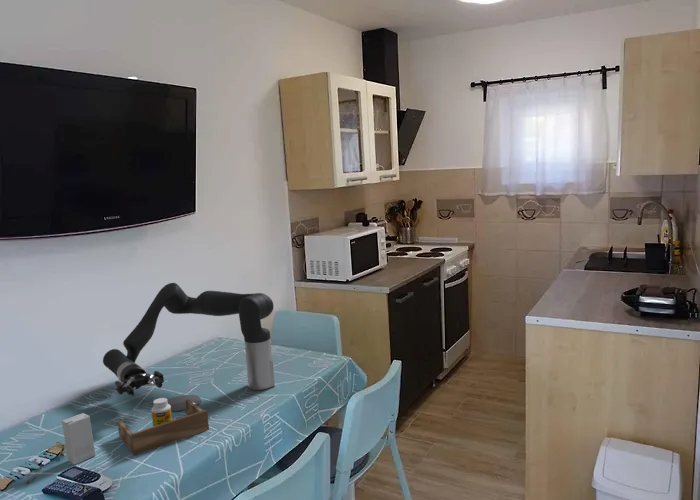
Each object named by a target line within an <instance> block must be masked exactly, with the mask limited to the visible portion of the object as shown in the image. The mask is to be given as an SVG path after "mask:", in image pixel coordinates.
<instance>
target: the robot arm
mask: <svg viewBox="0 0 700 500" xmlns="http://www.w3.org/2000/svg"><path fill="white" fill-rule="evenodd" d="M274 305H275V304H274V302H273V300H272V299H271V297H270V296H268V295H267V294H266V293H263V292H262V293H261V292H256V293H237V292H229V291H228V292H227V291H220V290H219V291H218V290H204V291H203V292H201V293H199V295H197V296H196V297H191V296H189V295H187V294H186V292H184V290H183V289H182V287H180V285H179V284H178V283H176V282H168V283H167V284H166V285H164V286H163V287H162V288H161V289H160V290H159V291H158V293H157V294H156V296H155V297H154V298H153V300H152V302H151V303H150V305H149V306H148V308H147V309H146V311H145V313H144V314H143V316H142V317H141V319H140V320H139V322H138V323H137V325H136V326H135V327H134V329H132V331H131V332H130V333H129V334H128V335H127V336H126V337H125V339H124V340H123V343H122V345H123V346H124V348H125V349H126V352H127V354H124V352H122V351H121V349H117V348H112V349H110V350H108V351H107V352H106V353H105V354H104V356H103V357H102V363H103V365H104V366H105V367H106V368H107V369H108V370H110V371H111V372H112V373H113V374H114V375H115V376H116V378H118V380H119V381H118V380H116V381H114V385H115V390H116V392H117V393H118V395H123V394H124V393H125V394H128V395H131V396H132V397H133V396H135V390H138V389H140V388H141V387H152V386H156V387H157V388H158V389H161V388H162V387H163V383H165V379H164V374H162V373H161V372H160V371H158V370H155V371H153V374H149V373H147V371H145V369H143V368H142V366H140V365H139V364H138V363H136V361H137V359H138V356H139V355H140V353H141V351H142V350H143V349H144V347H146V345H148V343H149V342H150V340H151V339H152V337H153V335H154V333H155V330H156V326H157V322H158V318H159V315H160V314H161V311H162V310H163V308H165V309H166V310H167V311H168V312H169V313H171V314H173V315H175V314H176V315H181V314H182V315H183V314H184V315H187V314H193V315H206V316H213V317H224V316H225V317H226V316H232V315H238V316H239V317H238V318H239V324H240V331H241V334H242V336H243V338H244V339H243V340H244V351H245V362H246V363H245V364H246V372H247V375H246V376H247V386H248V388H249V389H250V390H253V391H254V390H255V391H256V390H257V391H262V390H268V389H270V388H272V387H276V384H275V370H274V361H273V360H274V359H273V352H272V341H271V332H270V329H268V328H265V327H262V321H261V320H263V319H266V318H267V317H269V316H270V315H271V314H272V313H273V310H274Z"/></svg>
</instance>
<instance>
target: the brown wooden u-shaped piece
mask: <svg viewBox="0 0 700 500" xmlns="http://www.w3.org/2000/svg"><path fill="white" fill-rule="evenodd" d="M208 414H209V413H208V409H202V408H201V407H199V405H198V406H197V405H195V404H194V403H193V402H192V401H190V400H189V399H187V400H186V415H185V416H182V417H179V418H175V419H172V421H169V422H166V423H163V424H160V425H157V426H154V427H153V426H151V427H148V428H145V429H142V430H139V431H136V432H132V431H131V429H130V428H129V427H128V426H127V425H126V424H125V422H123V420H122V419H119V420H117V421H116V422H117V428H118V436H119V438H120V439H121V441H122V442H123V443H124V445H126V447H127V448H128V449H129V450H130V451H131V452H132V454H133V455H134V456H137V455H139V454H140V455H141V454H143V453H145V452H148V451H151V450H153V449H154V450H155V449H157V448H159V447H162V446H165V445H167V444H168V445H169V444H171V443H174V442H177V441H179V440H183V439H186V438H188V437H191V436H193V435H197V434H199V433H202V432H206V431H208V430H210V427H209V426H210V425H209V416H208Z"/></svg>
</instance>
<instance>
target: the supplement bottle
mask: <svg viewBox="0 0 700 500" xmlns="http://www.w3.org/2000/svg"><path fill="white" fill-rule="evenodd" d="M167 400H168V399H167V398H166V397H159V398H156V399H154V400H153V402H152V403H153V406H152V407H151V417H152V419H151V420H152V427H154V426H157V425H160V424H163V423H166V422H169V421H172V420H173V416H172V415H173V414H172V412H171V406H170V405H169V404H168V402H167Z"/></svg>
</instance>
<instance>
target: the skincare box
mask: <svg viewBox="0 0 700 500" xmlns="http://www.w3.org/2000/svg"><path fill="white" fill-rule="evenodd" d="M61 424H62V430H63V437H64V443H65V448H66V456H67V461H68V462H70V463H71V464H72V465H77V464H80V463H82V462H84V461H86V460H88V459H91V458H93V457H95V456H96V450H95V443H94V438H93V437H94V436H93V430H92V424H91V417H90V415H88V414H86V413H84V412H82V413H80V414H77V415H74V416H71V417H69V418H66V419H63V420H61Z"/></svg>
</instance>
